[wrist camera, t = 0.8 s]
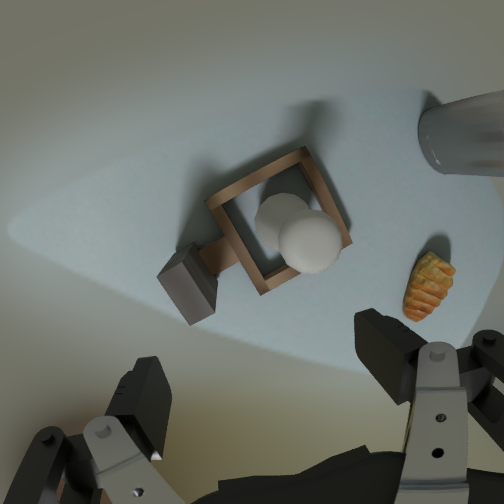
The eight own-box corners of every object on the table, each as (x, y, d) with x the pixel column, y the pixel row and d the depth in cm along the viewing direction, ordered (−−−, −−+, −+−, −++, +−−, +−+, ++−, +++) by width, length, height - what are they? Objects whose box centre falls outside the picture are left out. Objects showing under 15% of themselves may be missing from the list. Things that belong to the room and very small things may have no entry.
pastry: (420, 321, 35) (434, 333, 32) (389, 308, 34) (403, 321, 31) (448, 263, 34) (465, 271, 30) (420, 245, 33) (438, 251, 29)
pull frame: (301, 147, 28) (326, 135, 21) (347, 240, 31) (381, 257, 23) (158, 228, 29) (135, 243, 21) (213, 314, 32) (210, 353, 24)
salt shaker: (250, 194, 29) (266, 201, 17) (304, 190, 30) (355, 195, 17) (255, 249, 31) (274, 294, 18) (307, 243, 31) (357, 282, 18)
